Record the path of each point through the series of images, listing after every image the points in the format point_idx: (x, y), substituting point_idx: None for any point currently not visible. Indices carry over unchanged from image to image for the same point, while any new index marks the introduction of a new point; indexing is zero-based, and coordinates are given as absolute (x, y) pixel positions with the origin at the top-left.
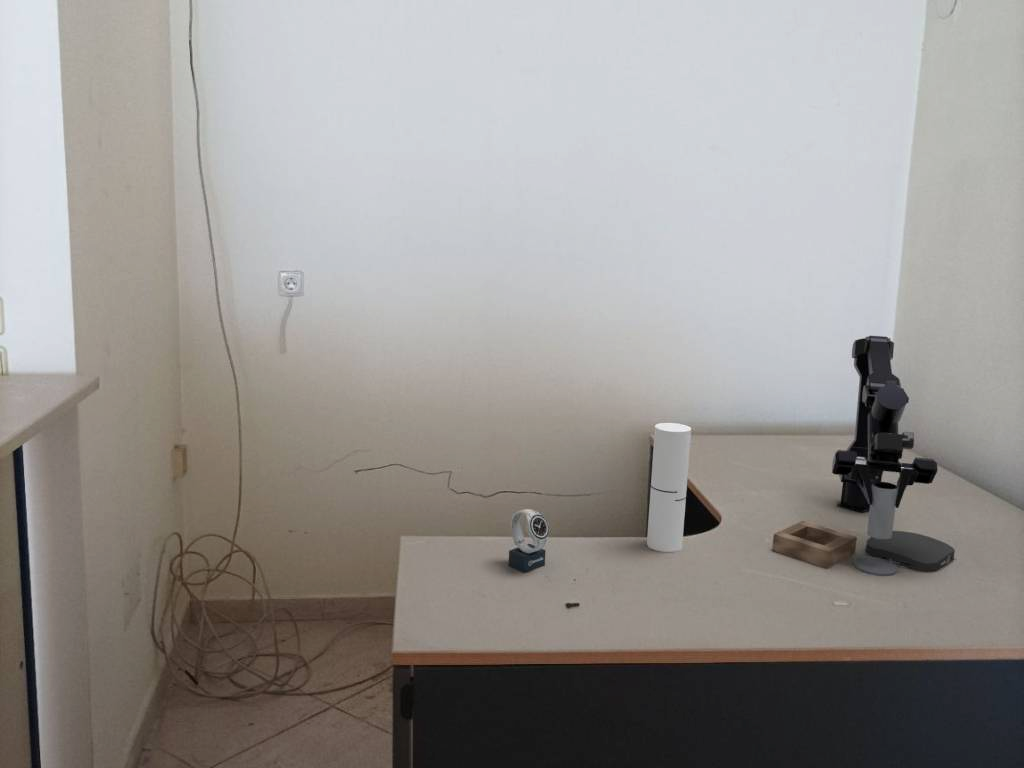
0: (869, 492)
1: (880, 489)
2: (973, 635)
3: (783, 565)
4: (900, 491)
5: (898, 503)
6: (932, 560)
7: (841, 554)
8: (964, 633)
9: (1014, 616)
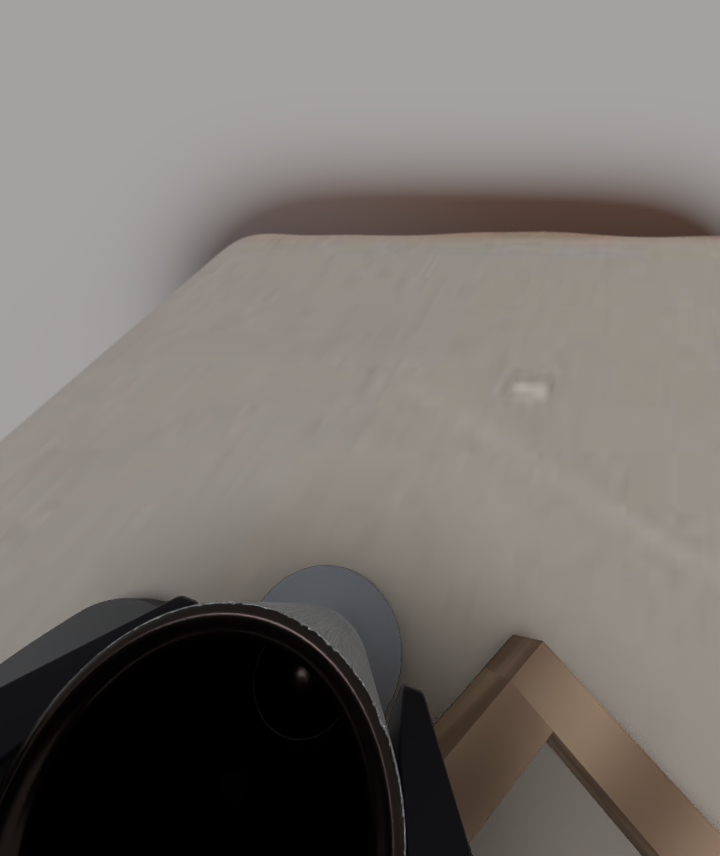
0: (431, 810)
1: (349, 665)
2: (294, 264)
3: (677, 669)
4: (34, 706)
5: (173, 607)
6: (99, 620)
7: (443, 730)
8: (307, 270)
9: (136, 326)
